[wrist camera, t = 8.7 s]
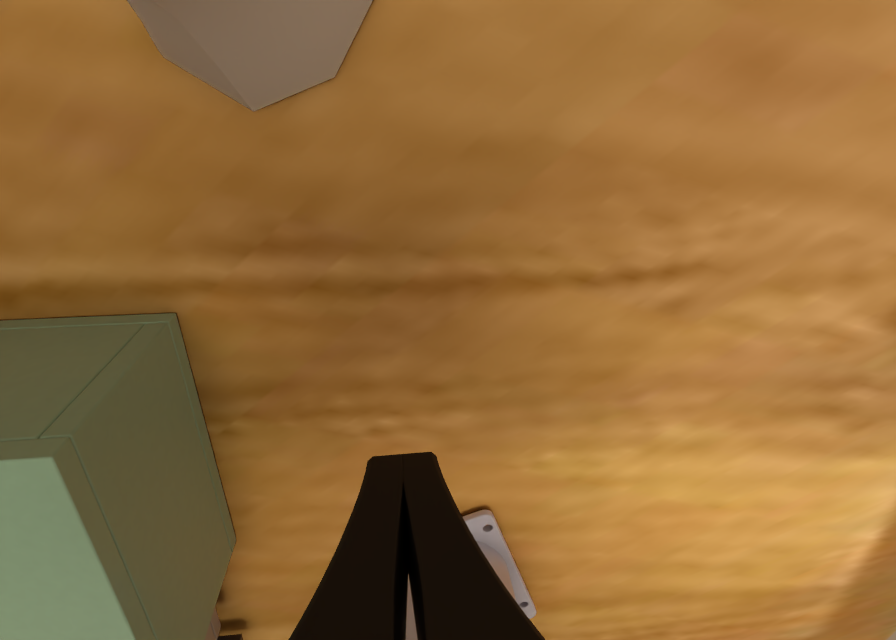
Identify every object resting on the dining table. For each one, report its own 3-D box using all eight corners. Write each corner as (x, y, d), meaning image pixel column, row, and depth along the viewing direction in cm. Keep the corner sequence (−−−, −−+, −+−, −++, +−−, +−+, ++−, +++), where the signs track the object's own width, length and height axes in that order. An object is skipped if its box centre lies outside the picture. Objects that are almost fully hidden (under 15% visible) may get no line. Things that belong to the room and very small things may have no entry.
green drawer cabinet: (237, 539, 25) (176, 731, 18) (-17, 562, 24) (-192, 777, 16) (176, 312, 19) (51, 457, 12) (-161, 326, 18) (-526, 497, 11)
